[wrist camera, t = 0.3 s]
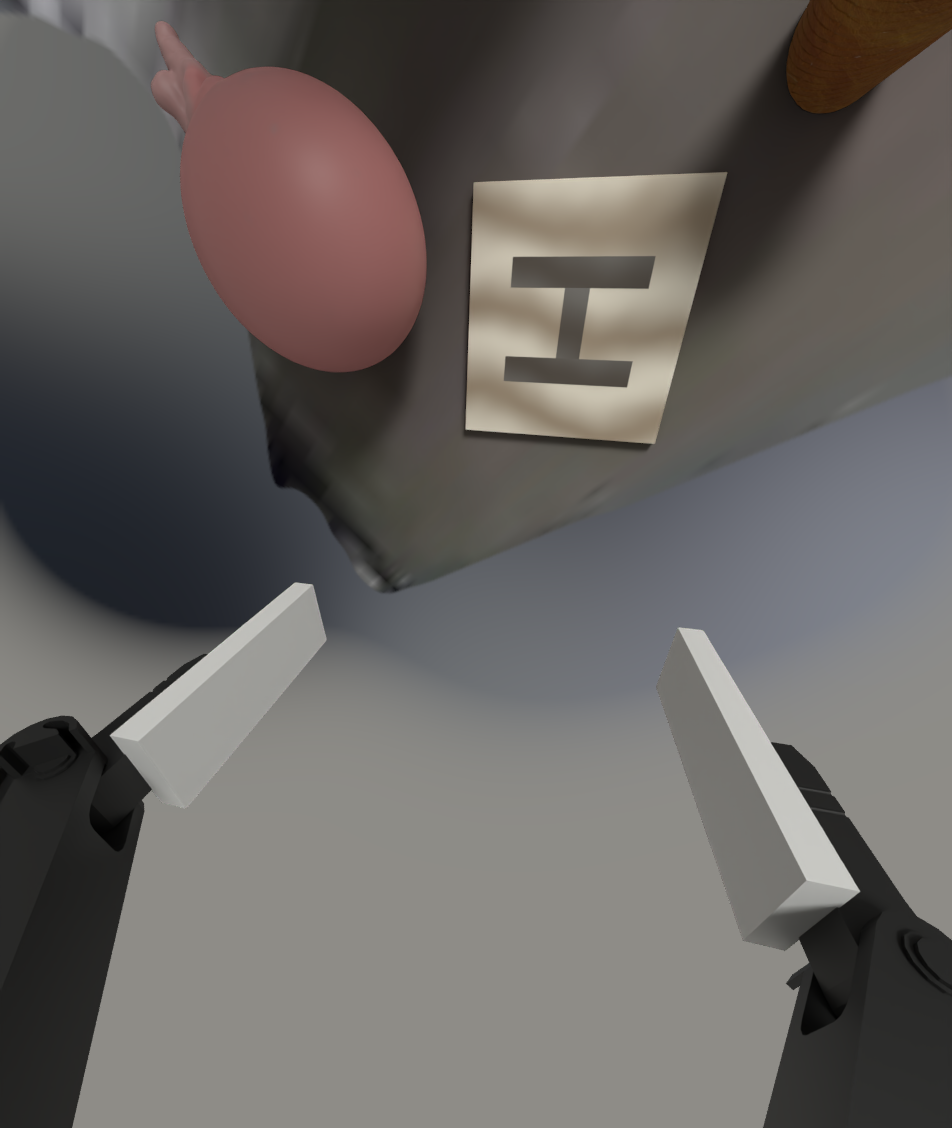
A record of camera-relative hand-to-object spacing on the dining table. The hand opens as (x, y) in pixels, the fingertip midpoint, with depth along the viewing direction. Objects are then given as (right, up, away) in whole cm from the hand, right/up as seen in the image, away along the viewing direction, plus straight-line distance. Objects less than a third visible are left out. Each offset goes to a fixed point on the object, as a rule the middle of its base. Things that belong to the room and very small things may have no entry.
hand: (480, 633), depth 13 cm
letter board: (+8, +23, +18) cm, 30 cm away
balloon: (-11, +31, +19) cm, 37 cm away
